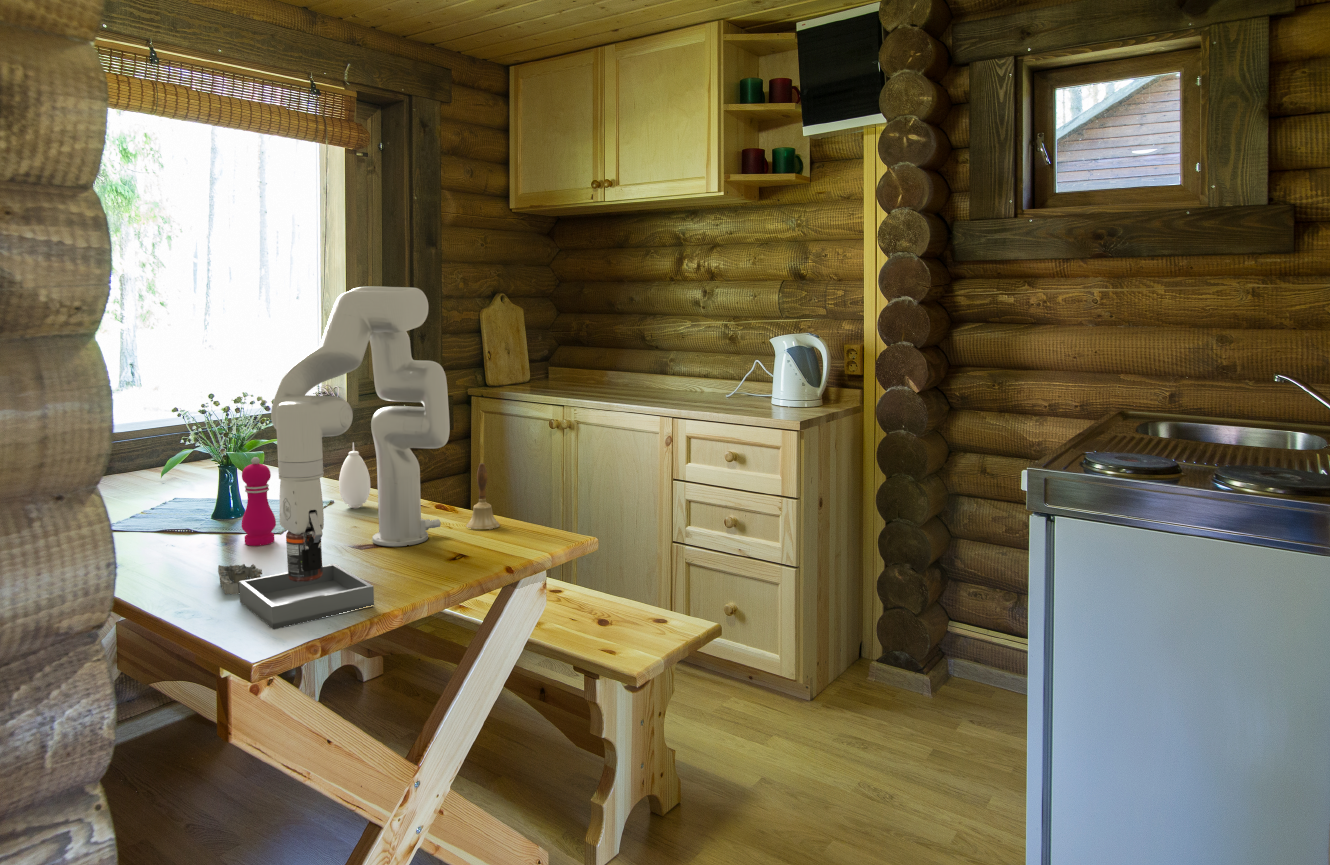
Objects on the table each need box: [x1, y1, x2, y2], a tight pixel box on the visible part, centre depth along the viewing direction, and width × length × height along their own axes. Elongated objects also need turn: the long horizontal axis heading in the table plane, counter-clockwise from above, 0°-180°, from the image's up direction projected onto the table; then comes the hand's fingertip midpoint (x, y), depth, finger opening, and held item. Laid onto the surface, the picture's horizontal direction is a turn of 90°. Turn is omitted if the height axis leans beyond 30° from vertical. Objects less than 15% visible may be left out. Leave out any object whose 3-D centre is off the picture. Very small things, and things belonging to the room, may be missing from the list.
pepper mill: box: [241, 456, 277, 547], centre depth 205 cm, size 7×7×20 cm
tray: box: [239, 563, 375, 630], centre depth 165 cm, size 18×18×4 cm
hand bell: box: [465, 462, 501, 530], centre depth 223 cm, size 8×8×16 cm
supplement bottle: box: [285, 529, 323, 582], centre depth 164 cm, size 6×6×11 cm
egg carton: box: [217, 563, 263, 595], centre depth 175 cm, size 11×8×4 cm
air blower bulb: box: [338, 441, 371, 509], centre depth 240 cm, size 8×8×18 cm
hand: (305, 564), depth 164 cm, fingers closed on supplement bottle, 6 cm apart
